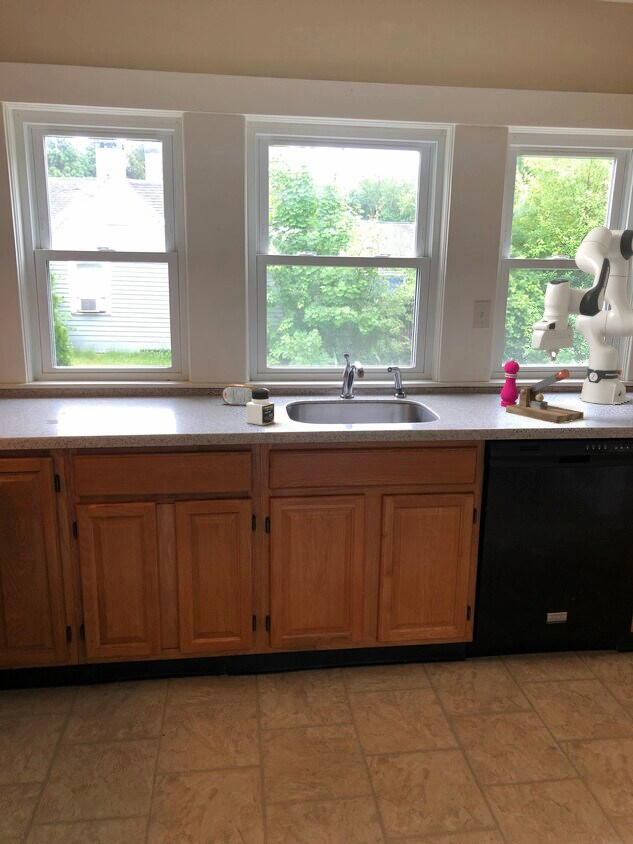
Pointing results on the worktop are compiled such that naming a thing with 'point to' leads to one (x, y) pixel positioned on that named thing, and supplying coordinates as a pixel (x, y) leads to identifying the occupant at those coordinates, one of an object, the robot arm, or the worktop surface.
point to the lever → (549, 380)
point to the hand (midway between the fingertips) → (551, 361)
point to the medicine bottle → (260, 408)
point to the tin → (237, 394)
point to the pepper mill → (510, 384)
